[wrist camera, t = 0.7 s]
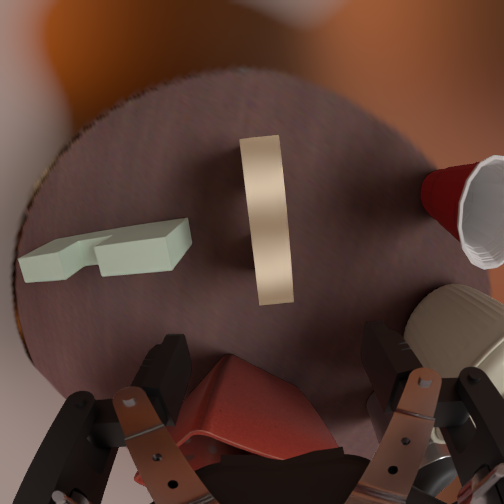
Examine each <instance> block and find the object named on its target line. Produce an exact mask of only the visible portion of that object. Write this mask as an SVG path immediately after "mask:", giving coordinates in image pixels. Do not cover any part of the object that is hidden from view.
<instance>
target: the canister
mask: <svg viewBox="0 0 504 504" xmlns="http://www.w3.org/2000/svg"><path fill="white" fill-rule="evenodd" d="M404 339H405V341H406V343H408V345H409V346H410V349H412V351H413V352H414V354H415V355H416V357H417V358H418V360H419V361H420V363H421V364H422V366H423V367H424V368H430V369H433V370H435V371H436V372H438V373H439V375H440V376H441V378H458V376H459V374H460V372H461V370H462V369H464V368H466V367H477V368H479V369H481V370H483V371H484V372H485V373H486V374H487V376H488V377H489V379H490V380H491V381H492V383H493V384H494V386H495V387H496V388H497V390H498V391H499V393H500V394H501V396H502V397H503V399H504V304H501V303H500V302H498V301H497V300H495V299H493V298H491V297H489V296H488V295H486V294H484V293H482V292H480V291H478V290H475V289H473V288H471V287H469V286H466V285H462V284H450V285H445V286H441V287H439V288H438V289H435V290H434V291H433V292H431V293H429V294H428V295H427V296H426V297H425V298H423V300H422V301H421V302H420V303H419V304H418V306H417V307H416V308H415V309H414V311H413V313H412V314H411V315H410V318H409V320H408V321H407V325H406V327H405V332H404ZM470 418H471V416H470ZM471 420H472V418H471ZM472 422H473V420H472ZM473 424H474V426H475V423H474V422H473ZM475 428H476V426H475ZM430 437H431V439H432V441H434V442H435V443H438V444H446V443H445V441H444V438H443V436H442V434H441V431H440V429H439V427H433V430H432V433H431V436H430Z"/></svg>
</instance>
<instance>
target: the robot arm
mask: <svg viewBox="0 0 504 504" xmlns="http://www.w3.org/2000/svg"><path fill="white" fill-rule="evenodd" d="M361 360H362V363H363V366H364V368H365V370H366V373H367V375H368V377H369V379H370V382H371V384H372V386H373V389H374V392H373V393H372V394H371V396H370V397H369V399H368V401H367V404H366V407H367V410H368V413H369V416H370V419H371V421H372V425H373V428H374V430H375V433H376V436H377V439H378V442H379V446H378V448H377V450H376V452H375V454H374V456H373V458H372V460H369V459H366V458H363V457H360V456H356V455H349V454H344V451H343V447H338V448H331V449H324V450H317V451H312V452H308V453H305V454H302V455H299V456H296V457H292V458H289V459H285V460H278V459H271V458H265V457H259V456H254V455H221V460H220V462H218V463H214V464H210V465H207V466H204V467H202V468H200V469H198V470H196V471H194V470H193V469H192V467H191V466H190V465H189V463H188V462H187V460H186V459H185V457H184V456H183V454H182V453H181V451H180V450H179V448H178V447H177V445H176V443H175V442H174V440H173V439H172V437H171V435H170V434H169V432H168V430H167V429H166V426H173V427H175V426H176V422H177V419H178V415H179V412H180V409H181V405H182V402H183V399H184V395H185V392H186V389H187V385H188V382H189V379H190V375H191V371H192V364H191V358H190V355H189V351H188V346H187V342H186V338H185V336H184V334H167V335H166V336H165V338H164V340H163V342H162V344H161V345H160V344H157V345H155V346H154V347H153V348H152V349H151V350H149V352H148V354H147V355H146V357H145V360H144V361H143V363H142V366H141V367H140V369H139V371H138V372H137V374H136V376H135V378H134V380H133V382H132V384H131V386H130V387H125V388H123V389H121V390H119V391H118V392H117V393H116V394H115V395H114V397H113V399H105V400H95V398H94V396H93V395H92V394H91V393H90V392H87V391H78V392H75V393H73V394H71V395H70V396H69V397H68V398H67V399H66V401H65V403H64V404H63V406H62V408H61V409H60V411H59V413H58V415H57V416H56V418H55V420H54V422H53V423H52V425H51V427H50V429H49V430H48V432H47V434H46V436H45V438H44V440H43V442H42V443H41V445H40V447H39V449H38V451H37V453H36V455H35V457H34V459H33V461H32V463H31V465H30V467H29V469H28V471H27V473H26V475H25V477H24V479H23V481H22V483H21V486H20V488H19V490H18V492H17V494H16V496H15V499H14V501H13V504H101V501H102V498H103V494H104V491H105V488H106V485H107V481H108V478H109V475H110V472H111V469H112V466H113V463H114V460H115V457H116V454H117V451H118V448H119V447H124V446H127V448H128V450H129V452H130V454H131V457H132V459H133V461H134V463H135V466H136V468H137V470H138V472H139V474H140V476H141V478H142V480H143V482H144V484H145V486H146V488H147V490H148V492H149V493H150V495H151V497H152V499H153V502H152V503H150V504H447V503H445V502H442V501H441V500H439V499H437V498H435V497H436V495H437V494H439V493H440V492H441V491H442V490H443V489H444V488H445V487H447V486H448V485H449V484H450V483H451V482H452V481H453V480H454V479H455V477H456V476H457V474H458V476H459V479H460V482H461V485H462V488H461V489H460V491H459V493H458V497H457V501H456V502H454V503H452V504H504V399H503V397H502V396H501V394H500V393H499V391H498V390H497V388H496V387H495V386H494V384H493V383H492V381H491V380H490V379H489V377H488V376H487V374H486V373H485V372H484V371H483V370H481V369H479V368H477V367H466V368H464V369H462V370H461V372H460V374H459V376H458V378H441V376H440V375H439V373H438V372H436V371H435V370H433V369H430V368H424V367H423V366H422V364H421V363H420V361H419V360H418V358H417V357H416V355H415V354H414V352H413V351H412V349H410V346H409V345H408V343H406V341H405V339H404V338H403V336H402V335H401V334H399V333H398V332H396V331H395V330H389V329H388V328H387V326H386V325H385V323H384V322H383V321H382V320H380V321H373V322H366V323H365V326H364V333H363V340H362V347H361ZM470 416H471V418H472V420H473V422H474V423H475V426H476V428H475V426H474V424H473V422H472V420H471V418H470ZM433 427H439V429H440V431H441V434H442V436H443V438H444V441H445V443H446V444H438V443H435V442H434V441H432V439H431V437H430V436H431V433H432V430H433Z"/></svg>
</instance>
